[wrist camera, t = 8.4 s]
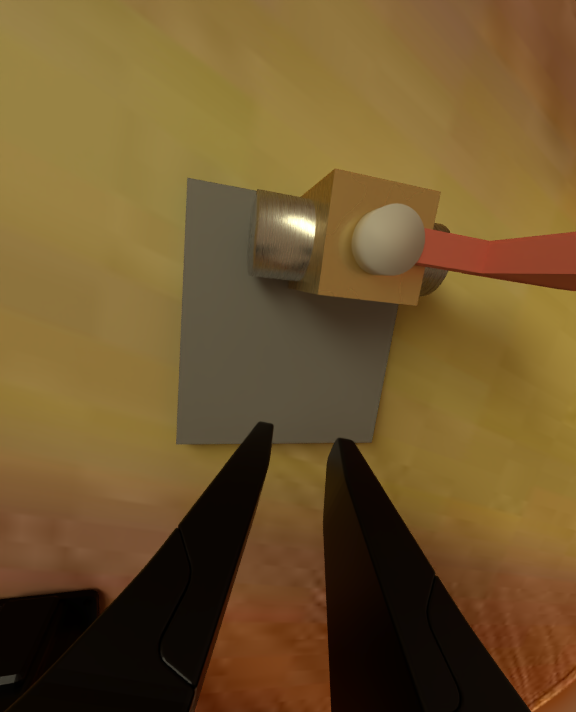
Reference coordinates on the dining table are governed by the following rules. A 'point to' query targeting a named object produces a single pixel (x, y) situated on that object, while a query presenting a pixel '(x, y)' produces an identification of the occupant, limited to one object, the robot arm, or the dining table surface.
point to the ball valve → (336, 238)
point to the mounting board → (269, 341)
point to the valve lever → (460, 251)
